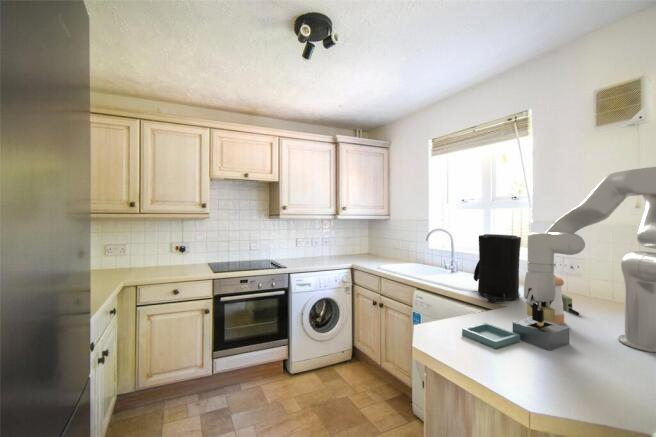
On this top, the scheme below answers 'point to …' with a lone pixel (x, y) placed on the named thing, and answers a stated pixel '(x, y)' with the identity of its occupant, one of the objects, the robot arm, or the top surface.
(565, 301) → the handheld radio
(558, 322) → the pepper shaker
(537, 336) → the block
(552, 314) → the t key
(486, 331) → the tray
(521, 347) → the top surface
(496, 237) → the black backpack
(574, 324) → the top surface
